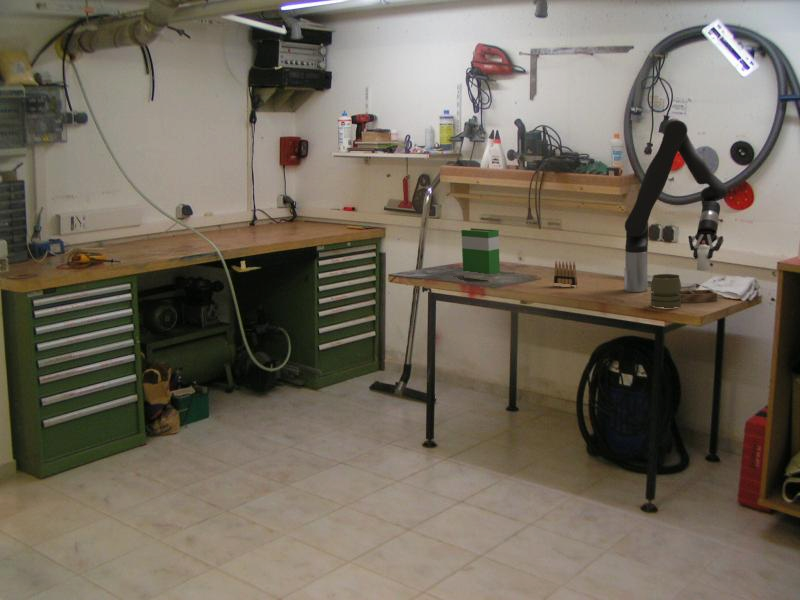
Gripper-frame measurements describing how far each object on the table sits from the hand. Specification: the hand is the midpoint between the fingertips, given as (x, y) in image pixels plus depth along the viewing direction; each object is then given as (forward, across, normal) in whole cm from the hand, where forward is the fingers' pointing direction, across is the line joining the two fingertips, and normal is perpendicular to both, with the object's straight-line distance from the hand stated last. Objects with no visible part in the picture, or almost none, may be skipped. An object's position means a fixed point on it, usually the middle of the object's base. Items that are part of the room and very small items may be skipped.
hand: (702, 257), depth 345 cm
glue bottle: (+2, 0, +5) cm, 6 cm away
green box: (-6, -109, +30) cm, 113 cm away
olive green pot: (+23, -11, +2) cm, 25 cm away
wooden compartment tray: (+12, -4, +12) cm, 18 cm away
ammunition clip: (+2, -62, +22) cm, 66 cm away
